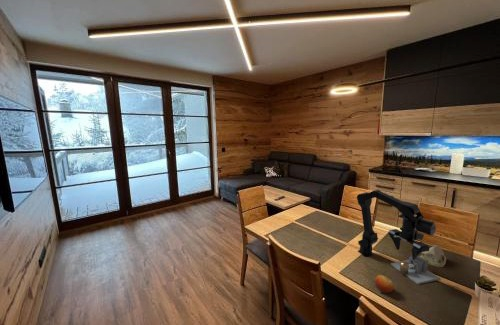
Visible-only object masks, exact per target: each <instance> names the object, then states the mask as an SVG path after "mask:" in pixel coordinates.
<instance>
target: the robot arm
mask: <svg viewBox="0 0 500 325" xmlns="http://www.w3.org/2000/svg"><path fill="white" fill-rule="evenodd" d="M374 198H376V199H378V200H380V201H381V202H383V203H386V204H388V205H390V206H391V207H394V208H395V209H397V210H398V212H399V213H400V214H399V215H398V217H399V218H401V219H402V224H401V227H400V228H399V229H398V228H394V229H393V228H392V229H389V230H388V231H387V232H388V233H387V235H389V237H390V239H391V240H392V242H393V243H394V246H395V249H396V250H398V251H399V250H400V247H401V240H403V241H405V242H407V243H409V244H411V245H412V247H411V256H412V257H413V260H415V259H416V258H417V256H420V255H421V253H422V252H426V251H429V248H430V246H429V245H428V244H426V243H424V242H422V240H423V239H424V237H425V235H428V236H432V237H433V236H434V235H435V233H436V230H437V227H436V224H435V221H432V220H429V219H428V220H427V219H425V217H424V215H423V213H422V212H421V211H420V208H419V205H417V203H416V204H415V203H412V202H409V201H404V200H400V199H398V198H396V197H394V196H392V195H389V194H387V193H385V192H383V191H381V190H379V189H375V190H372V191H370V192H369V191H368V192H362V193H359V194H357V196H356V200H357V204H358V205H359V207H360V208H361V216H362V224H363V232H362V237H361V240H358V241H357V242H358V246H359V250H357V252H358V253H360V254H361V255H362V256H363V257H366V258H368V257H373V256H374V254H373V245H375V244H376V243H377V242H378V240H379V238H378V232H376V231H374V229H373V228H374V227H373V221H372V214H371V212H372V211H371V205H372V204H373V203H372V202H373V199H374ZM418 240H420V241H418ZM417 241H418V242H417Z"/></svg>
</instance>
